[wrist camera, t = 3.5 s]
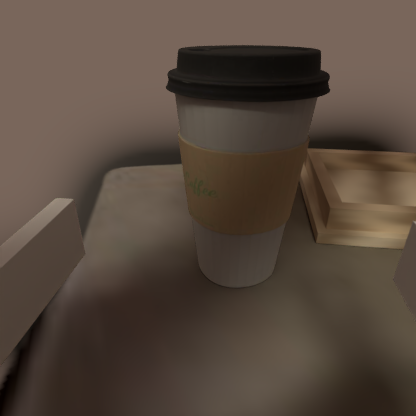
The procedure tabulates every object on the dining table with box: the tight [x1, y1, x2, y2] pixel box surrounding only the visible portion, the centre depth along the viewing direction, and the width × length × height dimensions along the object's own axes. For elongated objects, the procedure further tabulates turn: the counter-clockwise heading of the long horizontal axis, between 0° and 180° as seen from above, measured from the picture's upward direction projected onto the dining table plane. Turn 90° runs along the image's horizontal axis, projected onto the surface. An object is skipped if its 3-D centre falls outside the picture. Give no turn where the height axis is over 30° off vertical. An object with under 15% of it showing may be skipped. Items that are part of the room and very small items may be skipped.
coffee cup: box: [166, 45, 330, 288], centre depth 22 cm, size 9×9×15 cm
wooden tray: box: [299, 148, 416, 249], centre depth 34 cm, size 17×17×3 cm
